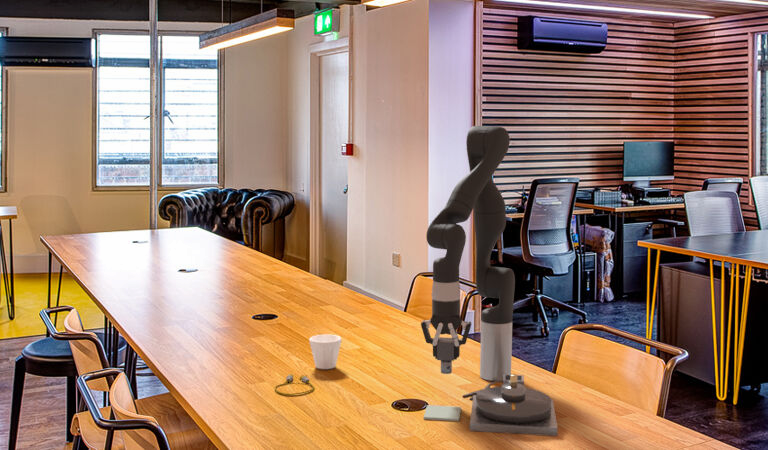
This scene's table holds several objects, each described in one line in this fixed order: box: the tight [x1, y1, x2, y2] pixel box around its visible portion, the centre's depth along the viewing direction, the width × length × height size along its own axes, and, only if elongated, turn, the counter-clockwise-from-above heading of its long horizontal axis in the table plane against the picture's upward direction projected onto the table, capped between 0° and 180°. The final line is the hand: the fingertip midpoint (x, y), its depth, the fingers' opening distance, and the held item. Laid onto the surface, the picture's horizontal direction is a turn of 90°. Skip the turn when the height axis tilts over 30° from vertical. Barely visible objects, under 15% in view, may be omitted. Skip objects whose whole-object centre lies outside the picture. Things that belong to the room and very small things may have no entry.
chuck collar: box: [476, 373, 552, 423], centre depth 200 cm, size 20×19×9 cm
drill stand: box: [469, 395, 559, 437], centre depth 200 cm, size 21×21×2 cm
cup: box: [308, 333, 342, 371], centre depth 243 cm, size 10×10×9 cm
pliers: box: [462, 381, 503, 401], centre depth 221 cm, size 10×1×20 cm
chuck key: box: [436, 336, 455, 375], centre depth 212 cm, size 4×4×9 cm
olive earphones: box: [274, 373, 316, 397], centre depth 225 cm, size 12×16×2 cm
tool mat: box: [423, 404, 462, 422], centre depth 203 cm, size 9×9×1 cm
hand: (446, 358), depth 212 cm, fingers closed on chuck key, 4 cm apart
